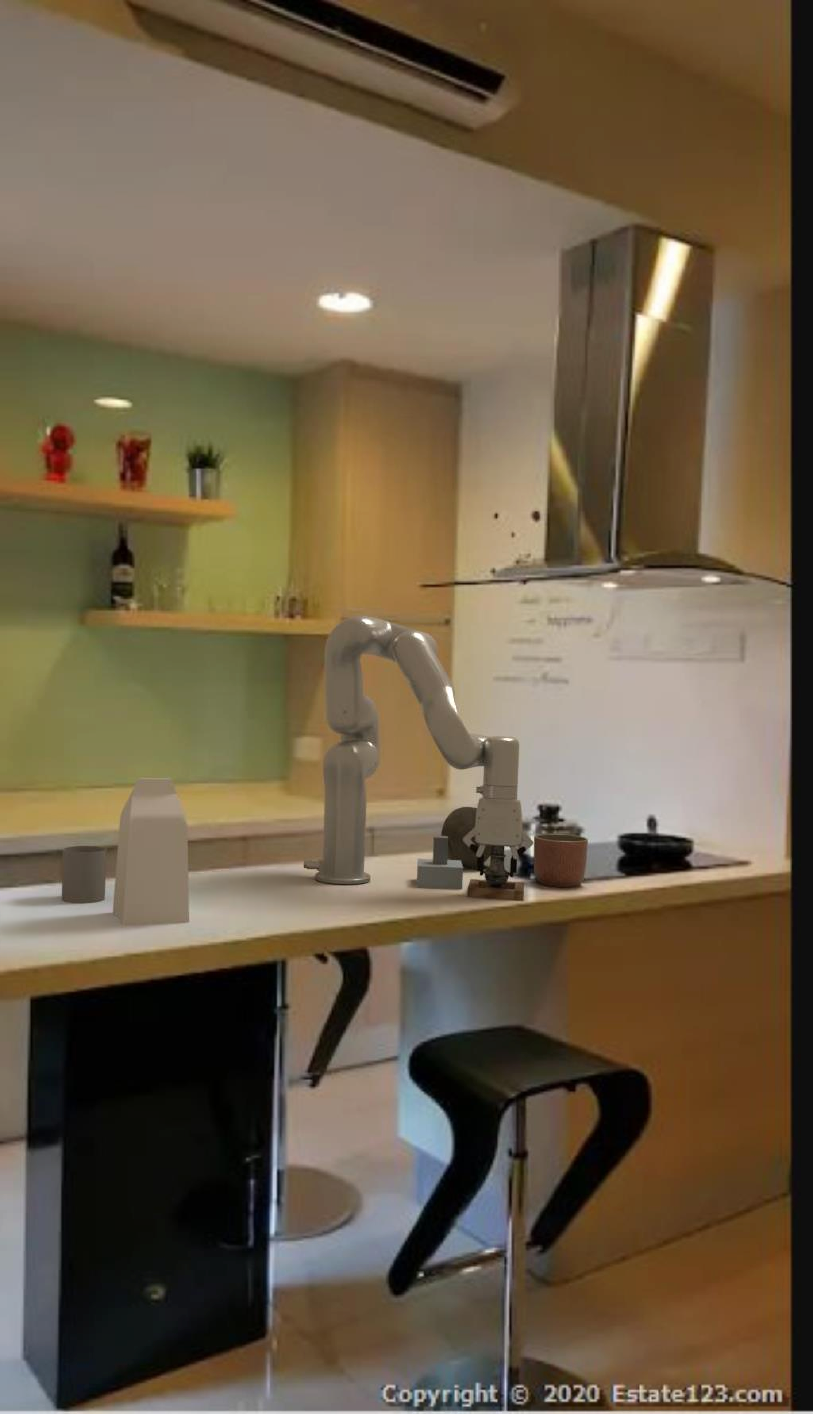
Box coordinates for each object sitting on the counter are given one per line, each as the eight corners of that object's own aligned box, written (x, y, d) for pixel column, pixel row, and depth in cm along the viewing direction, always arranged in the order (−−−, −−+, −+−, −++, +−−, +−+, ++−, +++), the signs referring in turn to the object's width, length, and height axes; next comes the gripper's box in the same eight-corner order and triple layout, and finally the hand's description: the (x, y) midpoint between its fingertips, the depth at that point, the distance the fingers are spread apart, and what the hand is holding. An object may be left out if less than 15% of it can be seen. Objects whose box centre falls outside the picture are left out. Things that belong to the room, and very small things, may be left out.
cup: (65, 904, 218) (67, 853, 217) (57, 896, 225) (59, 846, 225) (109, 901, 222) (111, 851, 221) (100, 893, 229) (101, 845, 229)
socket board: (467, 897, 240) (467, 887, 240) (470, 887, 251) (470, 879, 251) (523, 900, 239) (523, 891, 239) (523, 891, 250) (524, 882, 250)
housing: (417, 888, 249) (419, 839, 249) (416, 880, 259) (418, 832, 259) (462, 890, 249) (464, 840, 249) (460, 881, 259) (461, 834, 259)
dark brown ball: (498, 873, 272) (501, 811, 271) (440, 871, 272) (442, 809, 271) (494, 863, 286) (497, 805, 285) (439, 861, 286) (441, 802, 285)
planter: (548, 890, 252) (550, 841, 252) (522, 880, 264) (524, 833, 264) (596, 888, 257) (598, 840, 257) (569, 878, 268) (570, 833, 268)
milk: (122, 925, 202) (127, 781, 201) (112, 912, 212) (117, 775, 212) (189, 922, 206) (194, 781, 206) (176, 909, 217) (180, 775, 216)
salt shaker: (507, 892, 241) (510, 836, 241) (480, 890, 243) (483, 834, 242) (510, 887, 247) (513, 833, 247) (484, 885, 248) (486, 831, 248)
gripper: (459, 792, 242) (456, 876, 242) (539, 796, 240) (536, 880, 240) (461, 789, 249) (458, 870, 250) (539, 793, 247) (536, 874, 248)
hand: (496, 874), depth 245 cm, fingers closed on salt shaker, 5 cm apart
